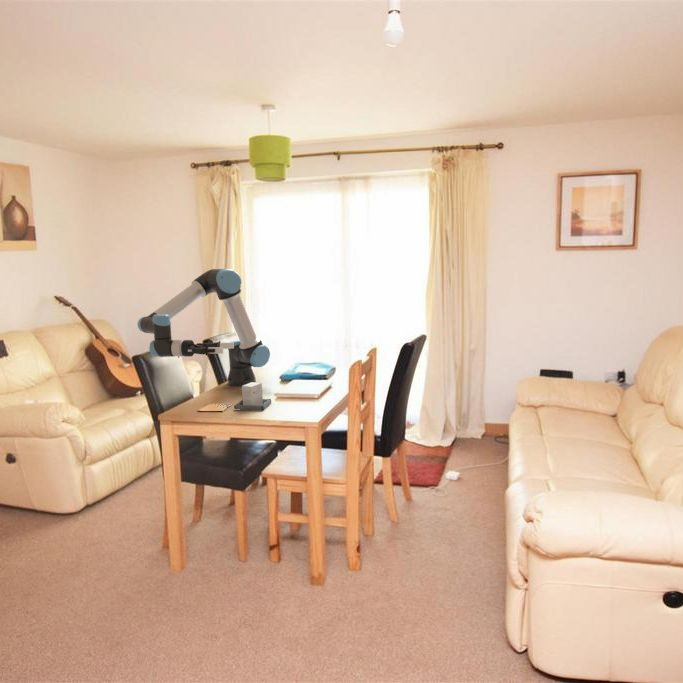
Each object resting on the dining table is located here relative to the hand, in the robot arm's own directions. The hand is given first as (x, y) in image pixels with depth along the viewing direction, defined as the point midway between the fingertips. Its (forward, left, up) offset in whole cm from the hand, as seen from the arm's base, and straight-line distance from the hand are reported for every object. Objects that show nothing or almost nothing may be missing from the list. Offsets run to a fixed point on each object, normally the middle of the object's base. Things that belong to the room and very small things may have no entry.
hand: (228, 347), depth 258 cm
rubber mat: (+3, -7, -27) cm, 28 cm away
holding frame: (0, +10, -27) cm, 29 cm away
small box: (0, +10, -27) cm, 29 cm away
